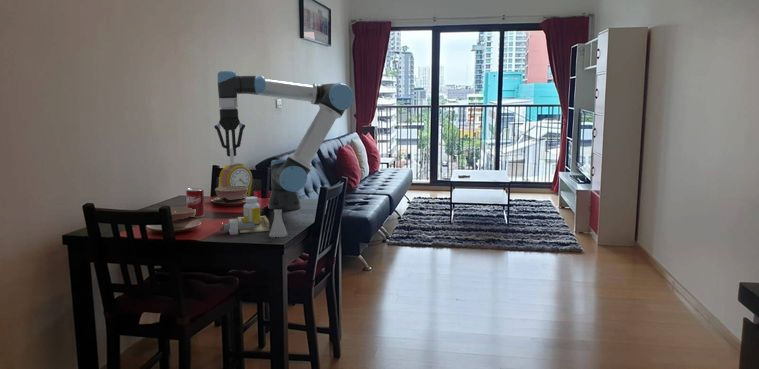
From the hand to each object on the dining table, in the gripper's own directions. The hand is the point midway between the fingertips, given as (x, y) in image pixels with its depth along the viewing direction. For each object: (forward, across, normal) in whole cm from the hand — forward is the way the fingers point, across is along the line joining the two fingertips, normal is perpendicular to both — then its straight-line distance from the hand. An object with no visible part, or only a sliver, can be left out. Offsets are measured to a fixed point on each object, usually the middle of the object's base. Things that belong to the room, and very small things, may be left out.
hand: (232, 163), depth 240 cm
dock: (+24, -5, +22) cm, 33 cm away
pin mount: (+24, +3, +27) cm, 36 cm away
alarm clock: (+24, -5, -45) cm, 52 cm away
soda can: (+24, +16, -8) cm, 30 cm away
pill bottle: (+23, -4, +21) cm, 32 cm away
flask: (+24, -12, +37) cm, 46 cm away
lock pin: (+23, +2, +27) cm, 35 cm away
